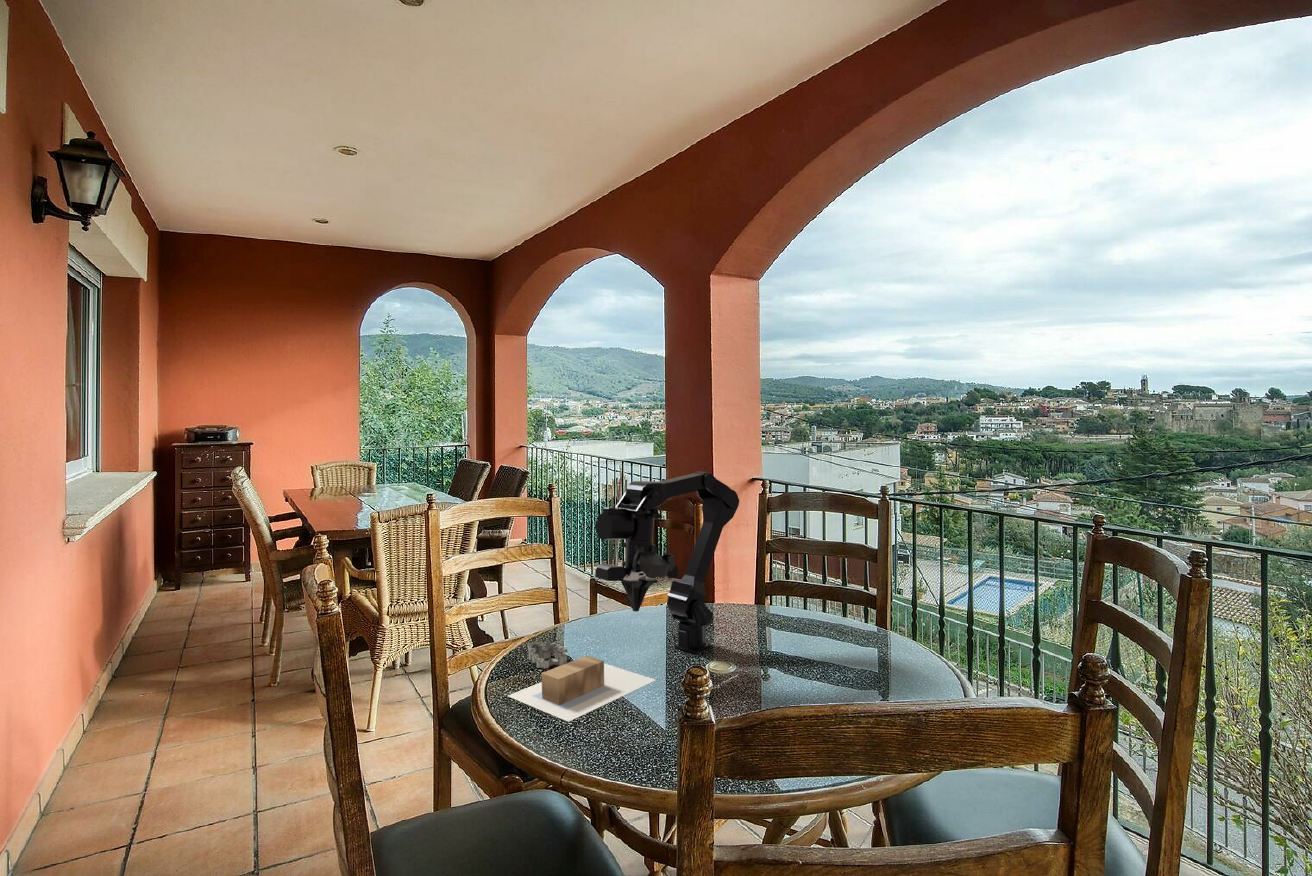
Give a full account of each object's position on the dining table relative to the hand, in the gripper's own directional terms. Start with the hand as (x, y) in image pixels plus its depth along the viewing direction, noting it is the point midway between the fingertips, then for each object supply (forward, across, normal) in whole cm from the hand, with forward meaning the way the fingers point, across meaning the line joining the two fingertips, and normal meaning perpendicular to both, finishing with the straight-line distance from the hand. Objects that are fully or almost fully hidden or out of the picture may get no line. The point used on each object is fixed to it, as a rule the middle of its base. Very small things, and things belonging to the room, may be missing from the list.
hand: (635, 611), depth 150 cm
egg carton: (+14, -12, +16) cm, 24 cm away
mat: (+14, -14, -3) cm, 20 cm away
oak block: (+11, -11, -2) cm, 16 cm away
